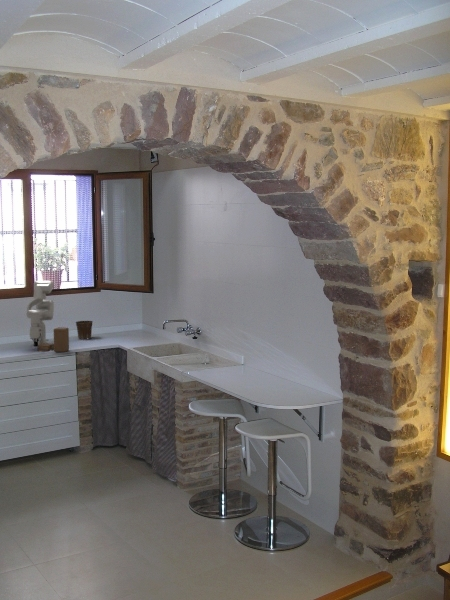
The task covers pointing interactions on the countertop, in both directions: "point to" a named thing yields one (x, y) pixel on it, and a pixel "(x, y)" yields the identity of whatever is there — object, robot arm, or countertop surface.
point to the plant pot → (84, 329)
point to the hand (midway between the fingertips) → (35, 346)
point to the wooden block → (61, 339)
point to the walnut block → (45, 347)
